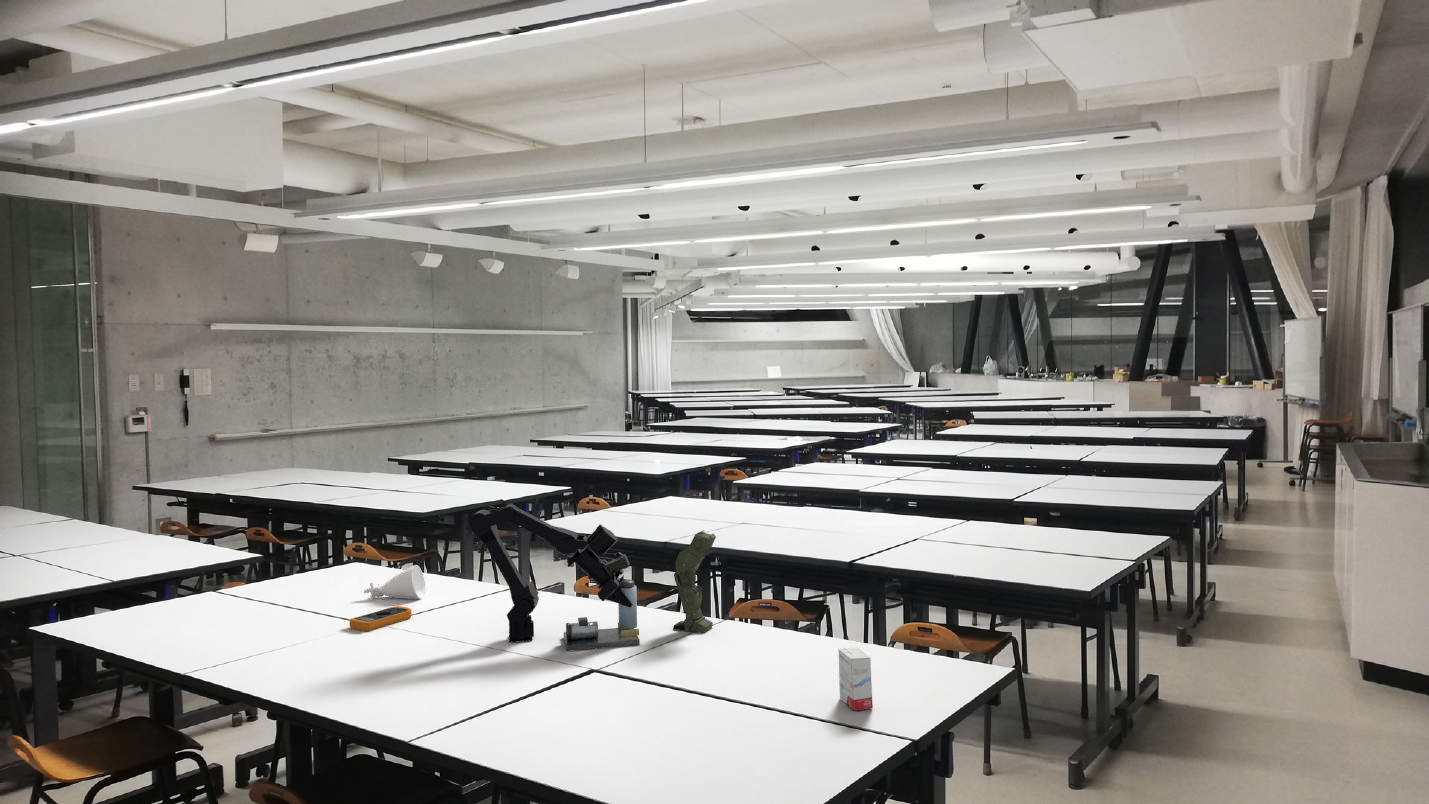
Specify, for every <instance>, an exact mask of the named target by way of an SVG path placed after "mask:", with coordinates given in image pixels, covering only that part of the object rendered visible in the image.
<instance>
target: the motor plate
mask: <svg viewBox="0 0 1429 804" xmlns="http://www.w3.org/2000/svg"><path fill="white" fill-rule="evenodd" d="M639 635H640V629H639V628H634V629H621V628H619V622H617V627H612V628H611V627H610V628H599V623H598V621H589V620H588V617H587V616H586V617H585V616H583V617H581V616H580V617H577V622H572V623H571V622H566V623H565V631H563V642H564V644H565V649H566V652H570V651H569V650H574V651H583V650H584V651H585V650H594V649H595V648H597V649H603V648H602V647H609V648H618V647H620V648H621V647H631V646H641V645H640V643H641V642H640V638H639Z"/></svg>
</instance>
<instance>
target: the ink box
mask: <svg viewBox="0 0 1429 804" xmlns="http://www.w3.org/2000/svg"><path fill="white" fill-rule="evenodd" d="M871 663H872V662H871V657H870V656H869V655H868V654H867V653H866V652H864V651H863V650H862V649H861V648H859V647H858V646H854V647H844V648H842V647H841V648H838V674H839V675H838V679H839V683H838V684H839V699H840V700H841V699H842V700H843V701H842V700H841V701H842V702H843V703H844V702H845V703H846V704H845V703H844V704H845V705H846V706H848V705H849V706H848V707H849V708H850V709H851V708H852V709H853V710H854V712H857V710H859V711H863V710H864V709H865V710H869V709H870V708H871V709H873V708H874V706H873V687H872V664H871ZM852 709H851V710H852ZM853 710H852V711H853ZM865 710H864V711H865Z"/></svg>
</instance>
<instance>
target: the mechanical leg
mask: <svg viewBox="0 0 1429 804" xmlns="http://www.w3.org/2000/svg"><path fill="white" fill-rule="evenodd" d="M716 539H717V537H716V535H715V533H711V534H710V533H708V532H705V530H704V529H703V530H701V531H699V532H697V533H694V536H693V538H692V540H691V542H690V544H689V547H687V548H686V549H684V550H681V552H679V553H678V555H677V557H676V560H675V563H674V564H675V572H674V573H673V577H674V578H673V579H674V581H675V584H676V587H677V591H678V595H679V599H680V601H681V607H682V609H683V610H684V612H685V619H684V620H680V621H678V622H676V623H675V624H674V625H673V627H672V629H673V630H675V631H682V632H695V633H704V634H705V633H707V632H708V631H710V630H711V629H713V621H711V620H709V619H707V618H706V616H705V615H703V611H702V608H701V604H702V601H703V588H702V587H701V586H700V585H696V582H697V581H696V579H697V574H696V572H697V571H698V569H699V567H700V566H701V564H702V562H703V560H704V559H705V557H706V556H707V555H709V554H711V553H713V552H715V551H716V547H713V545H714V542H715V540H716Z"/></svg>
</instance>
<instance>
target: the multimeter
mask: <svg viewBox="0 0 1429 804" xmlns="http://www.w3.org/2000/svg"><path fill="white" fill-rule="evenodd" d="M411 617H412V608H410V607H406V606H401V605H397V606H392V607H391V606H390V607H388V608H384V609H380V610H377V611H374V612H369V613H367V614H363V615H360V616H357V617H352V618H350V619H349V628H350V629H352V630H356V631H360V632H365V633H367V632H372V631H374V630H377V629H380V628H381V629H382V628H383V627H386V626H391V625H393V624H397V623H400V622H404V621H407V620H409V619H411Z"/></svg>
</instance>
